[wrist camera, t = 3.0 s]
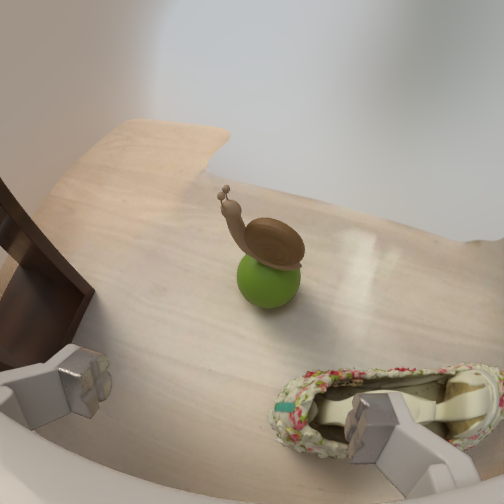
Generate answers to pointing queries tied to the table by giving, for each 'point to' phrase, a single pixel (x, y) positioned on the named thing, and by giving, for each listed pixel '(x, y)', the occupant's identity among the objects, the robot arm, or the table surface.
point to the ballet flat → (378, 381)
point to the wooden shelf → (36, 292)
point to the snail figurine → (264, 256)
